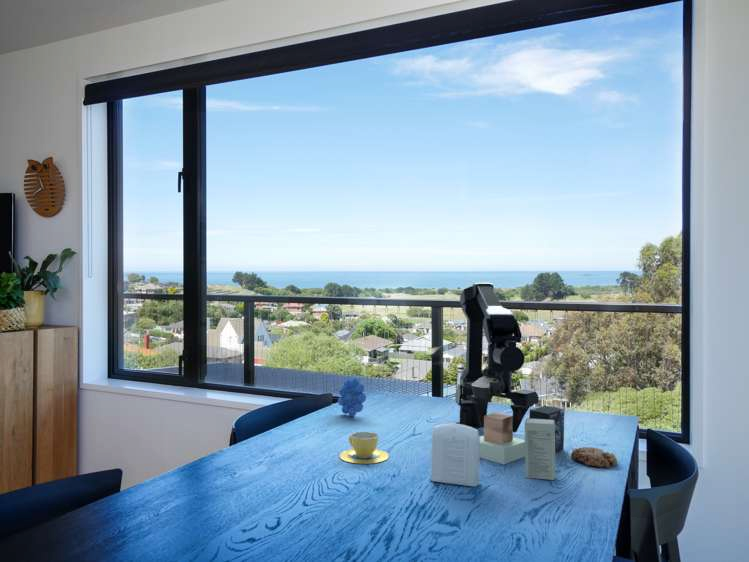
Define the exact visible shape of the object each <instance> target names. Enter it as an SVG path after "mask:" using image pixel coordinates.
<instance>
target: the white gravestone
mask: <svg viewBox="0 0 749 562" xmlns="http://www.w3.org/2000/svg"><path fill="white" fill-rule="evenodd" d="M432 429H433V430H432V433H431V449H430V451H431V452H430V454H431V455H430V456H431V457H430V480H431V481H432V482H437V483H443V484H450V485H458V486H466V487H474V488H475V487H478V486H479V485H480V484H479V483H480V482H479V481H480V457H479V456H480V438H479V437H480V434H479V430H478V429H477V428H472V427H469V426H466V425H462V424H456V423H442V424H438V425H437V424H436V425H435V426H433V428H432Z"/></svg>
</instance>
